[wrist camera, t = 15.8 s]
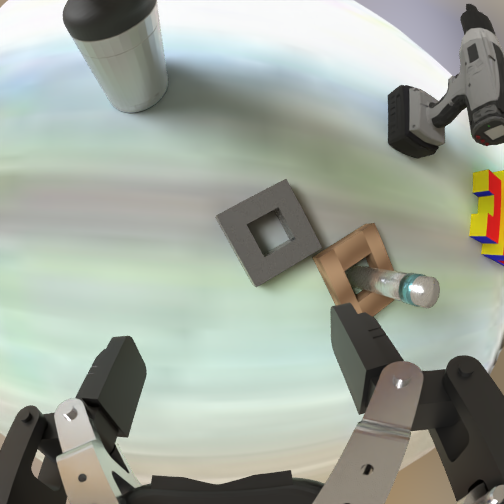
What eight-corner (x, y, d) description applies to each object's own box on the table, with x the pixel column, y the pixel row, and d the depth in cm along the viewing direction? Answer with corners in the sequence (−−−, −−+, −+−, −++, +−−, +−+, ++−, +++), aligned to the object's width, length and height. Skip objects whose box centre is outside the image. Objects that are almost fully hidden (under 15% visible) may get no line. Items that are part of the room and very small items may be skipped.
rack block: (312, 257, 39) (319, 258, 37) (365, 224, 41) (374, 223, 38) (345, 326, 41) (353, 330, 38) (392, 291, 42) (402, 293, 39)
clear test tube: (342, 272, 40) (415, 288, 24) (360, 260, 41) (435, 269, 25) (351, 291, 41) (423, 315, 25) (368, 279, 41) (443, 296, 25)
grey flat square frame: (215, 217, 37) (216, 215, 34) (280, 182, 38) (286, 178, 36) (252, 284, 38) (255, 287, 35) (314, 247, 39) (322, 247, 37)
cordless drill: (414, 69, 42) (494, 16, 18) (419, 174, 42) (537, 144, 18) (383, 52, 41) (461, -14, 16) (385, 160, 41) (510, 113, 16)
